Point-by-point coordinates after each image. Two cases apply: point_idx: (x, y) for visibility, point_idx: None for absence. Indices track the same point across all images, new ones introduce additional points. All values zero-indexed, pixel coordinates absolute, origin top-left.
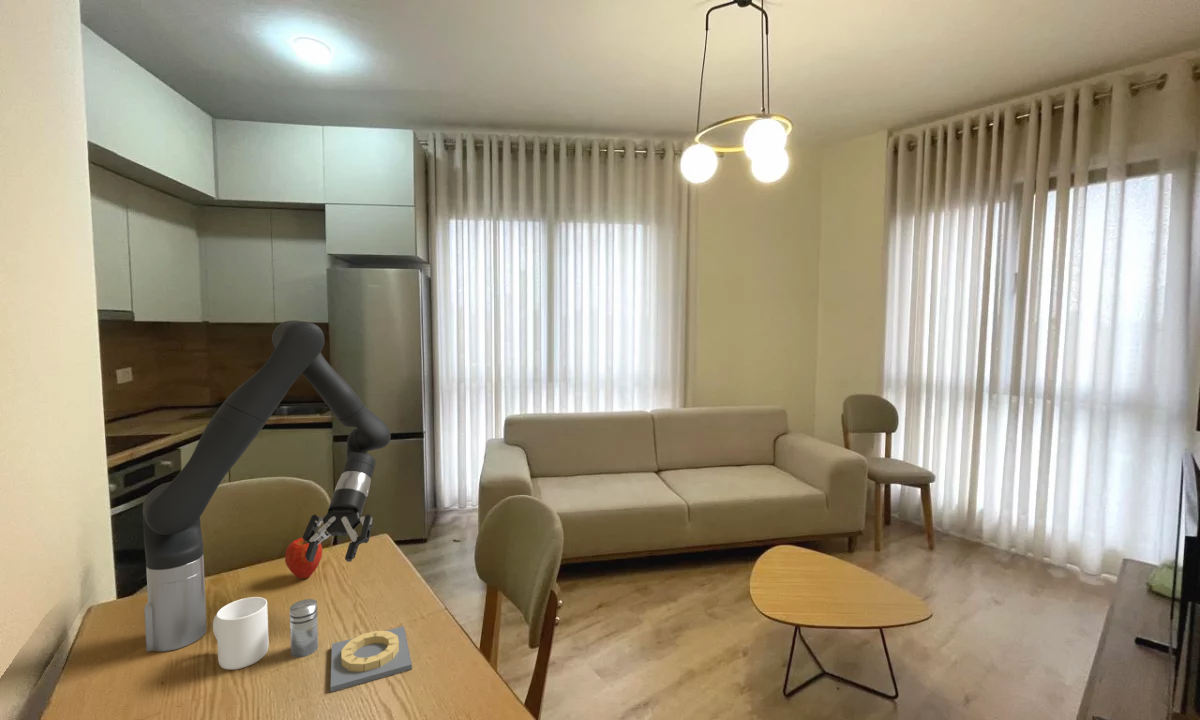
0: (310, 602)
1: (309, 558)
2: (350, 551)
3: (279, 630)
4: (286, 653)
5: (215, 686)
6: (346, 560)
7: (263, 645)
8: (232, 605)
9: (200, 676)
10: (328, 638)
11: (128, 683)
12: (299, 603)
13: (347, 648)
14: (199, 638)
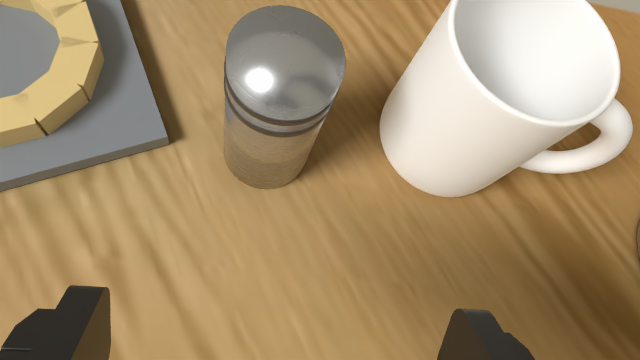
0: (263, 74)
1: (458, 310)
2: (41, 345)
3: (417, 278)
4: (317, 139)
5: (428, 32)
6: (107, 314)
7: (389, 104)
8: (600, 95)
9: None
10: (206, 207)
11: (636, 80)
12: (316, 74)
13: (77, 46)
14: (638, 247)
